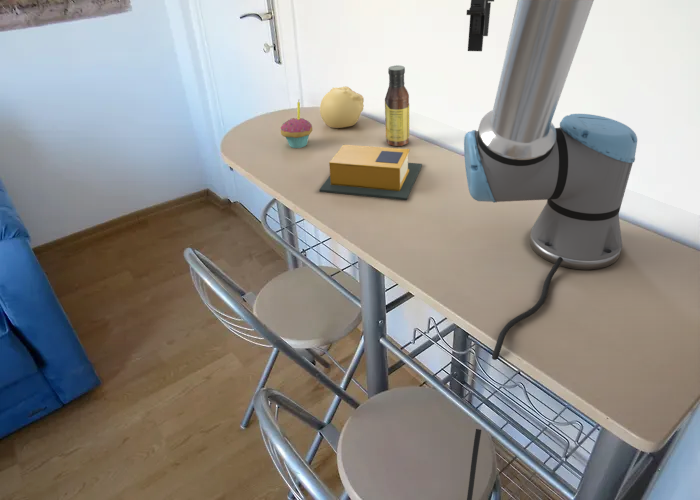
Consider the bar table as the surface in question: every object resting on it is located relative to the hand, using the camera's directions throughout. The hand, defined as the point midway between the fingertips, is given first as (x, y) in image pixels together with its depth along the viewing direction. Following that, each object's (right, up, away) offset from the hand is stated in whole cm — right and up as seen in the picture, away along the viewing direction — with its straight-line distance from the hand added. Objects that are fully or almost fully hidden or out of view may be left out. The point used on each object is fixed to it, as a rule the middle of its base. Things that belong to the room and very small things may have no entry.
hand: (478, 43), depth 107 cm
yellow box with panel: (-21, -26, +14) cm, 36 cm away
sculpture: (-29, -6, +46) cm, 55 cm away
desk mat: (-21, -26, +15) cm, 36 cm away
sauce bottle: (-14, -14, +32) cm, 38 cm away
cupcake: (-40, -14, +35) cm, 55 cm away
